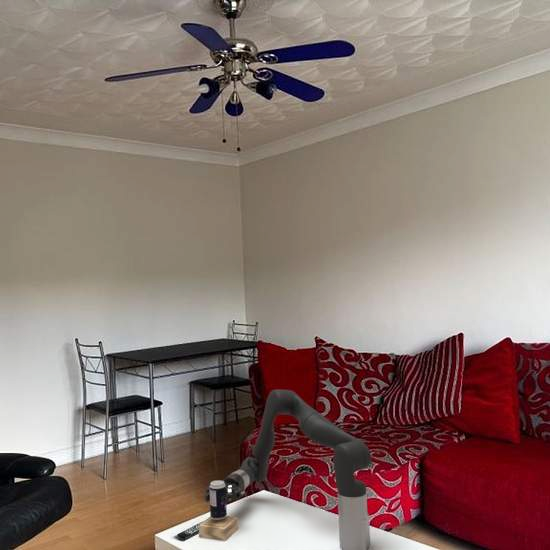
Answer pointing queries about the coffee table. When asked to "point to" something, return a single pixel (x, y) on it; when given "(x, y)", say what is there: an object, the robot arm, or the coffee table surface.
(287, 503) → the coffee table surface
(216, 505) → the beverage can
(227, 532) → the base block
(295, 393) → the robot arm
